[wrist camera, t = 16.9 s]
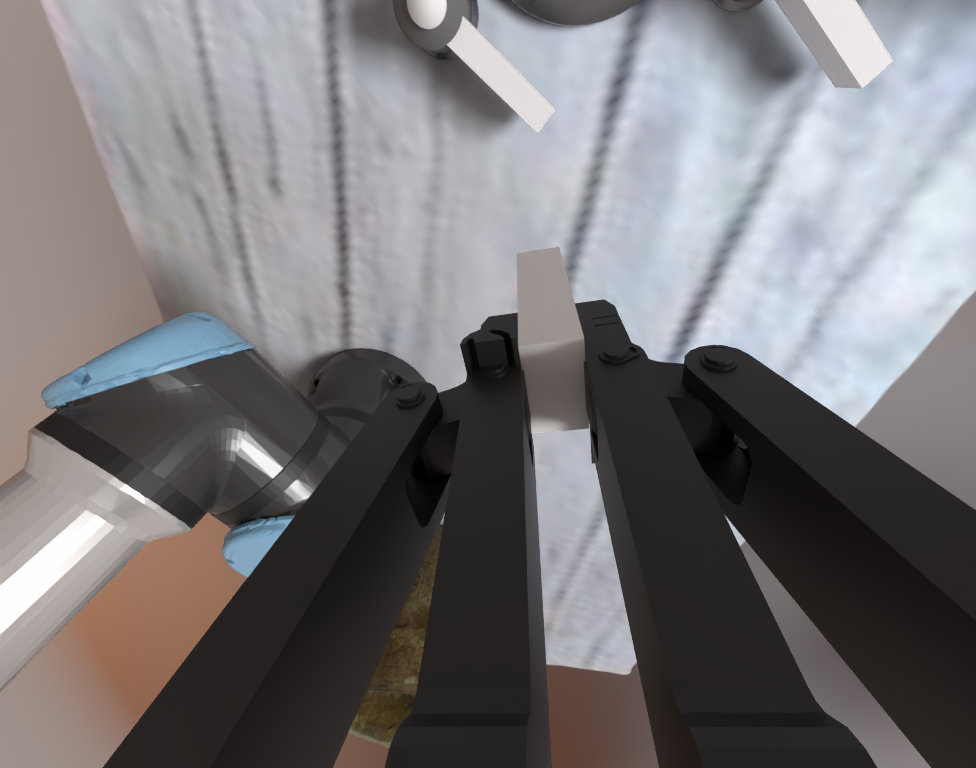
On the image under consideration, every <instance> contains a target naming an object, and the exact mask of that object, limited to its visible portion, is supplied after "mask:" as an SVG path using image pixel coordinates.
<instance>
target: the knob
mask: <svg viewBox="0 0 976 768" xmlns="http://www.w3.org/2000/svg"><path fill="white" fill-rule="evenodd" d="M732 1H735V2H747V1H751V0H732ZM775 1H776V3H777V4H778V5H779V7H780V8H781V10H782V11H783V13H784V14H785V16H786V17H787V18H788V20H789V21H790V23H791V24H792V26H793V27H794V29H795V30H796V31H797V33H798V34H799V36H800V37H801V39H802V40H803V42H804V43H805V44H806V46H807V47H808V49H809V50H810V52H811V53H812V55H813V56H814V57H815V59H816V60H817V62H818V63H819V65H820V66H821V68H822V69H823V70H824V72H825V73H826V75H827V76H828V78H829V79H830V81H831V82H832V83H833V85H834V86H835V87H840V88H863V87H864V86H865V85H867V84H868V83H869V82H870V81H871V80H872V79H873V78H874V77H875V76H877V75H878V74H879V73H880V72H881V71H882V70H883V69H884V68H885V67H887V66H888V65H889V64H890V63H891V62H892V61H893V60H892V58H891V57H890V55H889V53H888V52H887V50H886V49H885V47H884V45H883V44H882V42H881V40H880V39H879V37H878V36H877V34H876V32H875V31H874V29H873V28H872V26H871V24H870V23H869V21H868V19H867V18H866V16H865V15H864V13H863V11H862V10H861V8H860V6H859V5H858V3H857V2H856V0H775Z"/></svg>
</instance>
